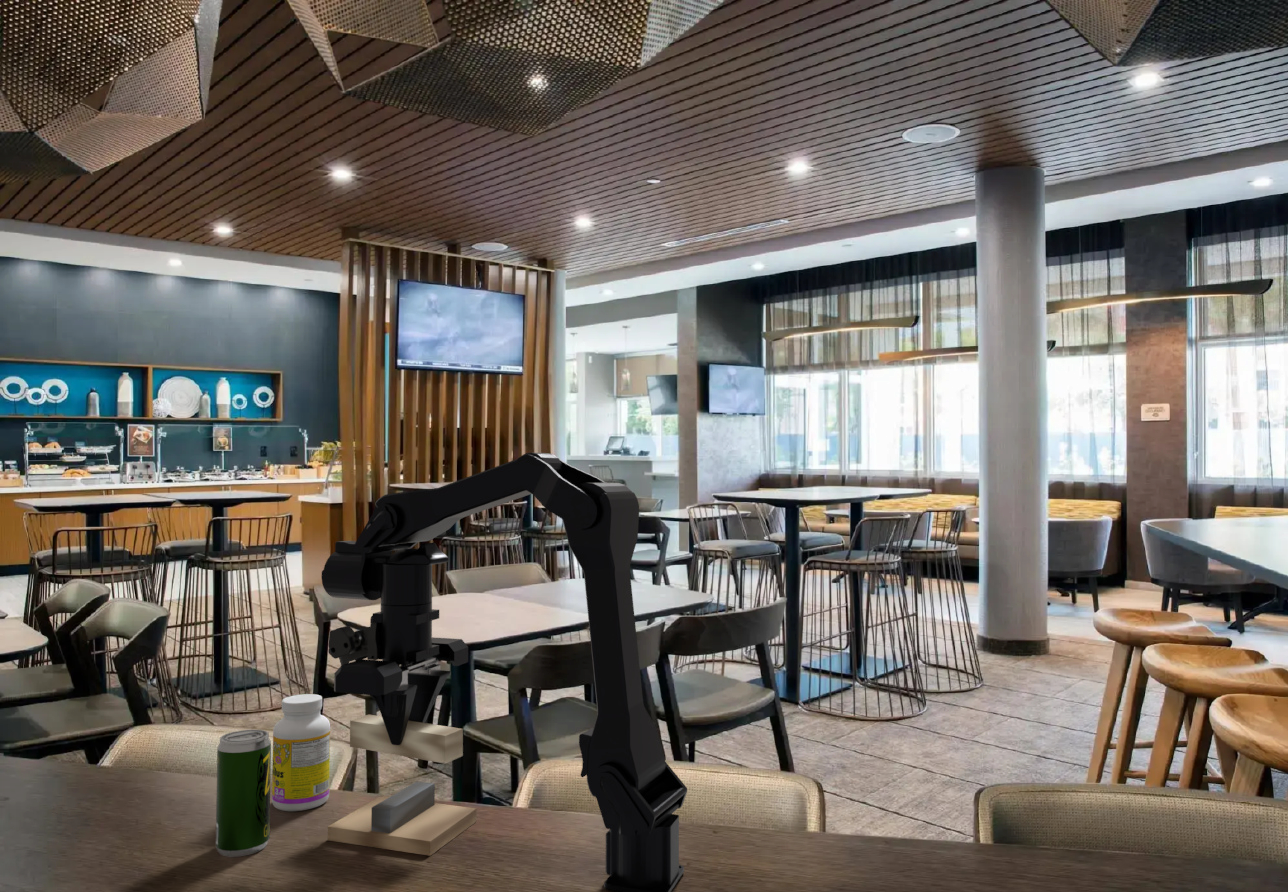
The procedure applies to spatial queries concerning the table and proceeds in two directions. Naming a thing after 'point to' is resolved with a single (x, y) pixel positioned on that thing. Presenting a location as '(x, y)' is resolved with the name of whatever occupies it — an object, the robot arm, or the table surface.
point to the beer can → (243, 792)
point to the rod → (408, 739)
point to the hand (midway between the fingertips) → (405, 740)
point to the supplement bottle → (301, 755)
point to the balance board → (407, 834)
